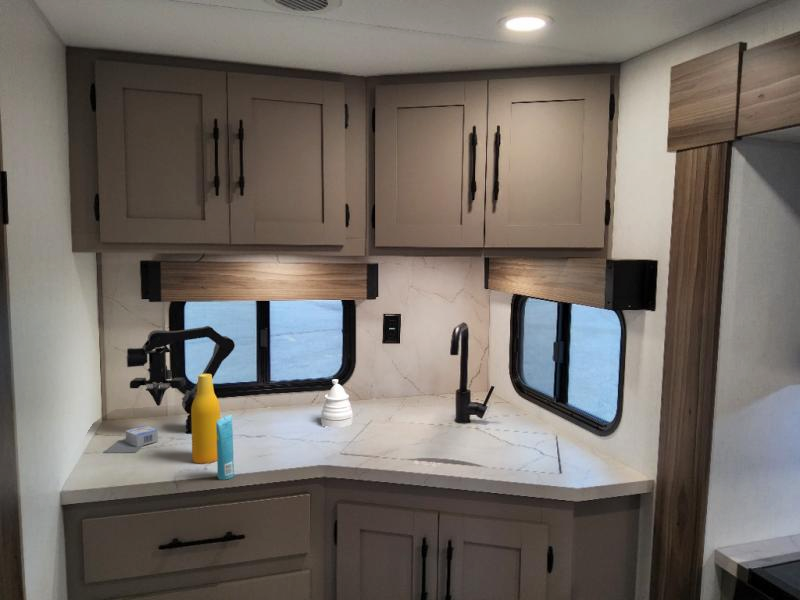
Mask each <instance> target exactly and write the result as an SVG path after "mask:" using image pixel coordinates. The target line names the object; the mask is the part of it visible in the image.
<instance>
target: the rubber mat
mask: <svg viewBox="0 0 800 600" xmlns="http://www.w3.org/2000/svg"><path fill="white" fill-rule="evenodd" d="M141 447H142V446H139V447H136V446H134V445H131V444H129V443H127V442H126V439H122V440H121V439H118V440H116V442H115V443H112V445H110V446H109V447H108V448H107V449H105V450H104V451H103V452H102V453H103V454H136V453H137V452H139V450H141V449H140V448H141ZM142 448H143V447H142Z"/></svg>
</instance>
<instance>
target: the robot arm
mask: <svg viewBox="0 0 800 600" xmlns="http://www.w3.org/2000/svg"><path fill="white" fill-rule="evenodd" d="M203 338H208V339H209V340H211V341H212V342H214V343H215V344H214V348H213V352H212V356H211V357H210V359H209V361H208V363H207V364H206V367H205V368H204V370H203V372H202V373H201V374H211V375H212V380H213V379H214V377H215V375H216V373H217V372H218V369H219V368H220V366H221V364H222V363H223V361H225V360H226V358H228V357H229V356H230V354H231V353H232V352H233V351H234V349H235V347H236V345H235V342H234V340H233V339H231V338H230V337H228V336H225V335H224V336H223V335H222V334H220V333H218V332H217V331H216V330H215V329H214V328H213V327H211V326H209V325H206V326H203V327H201V326H200V327H196V328H188V329H181V330H180V329H179V330H151V331H150V332H149V334H148V335H147V340H146V341H145V343H144V344H143V346H142V347H137V348H136V347H135V348H134V347H130V348H129V347H128V348H127V349H126V357H125V358H126V367H127V368H135V367H143V366H145V365H146V364H147V363H148V367H149V368H148V369H147V371H148V374H149V379H148V380H147V378H146V377H135V378H134V379H131V380H130V382H129V389H139V388H140V387H141V386H146V388H145V391H148V393H149V395H150V396H151V397H152V399H153V400H154V401H153V402H155V404H156V406H157V407H158V406H161V404H162V401H163V398H164V395H165V393H166V391H167V390H169V388H171V389H182V388H183V387H185V386H186V385H187V381H186V378H185V377H174V378H172V372H173V371H172V370H170V369H168V365H167V364H166V363H167V362H166V361H167V360H166V353H171V352H172V350H171V348H169V347H168V346H169V345H171V344H174V343H176V342H181V341H182V342H183V341H190V340H197V339H203ZM197 386H198V381H197V382H196V384H195V385H194V387H193V388H192V389H191V390H188V389H187V390H186V391H185V394H184V395H183V396H182V398H181V400H182V401H181V407H182V408H183V410H184V411H185V413H186V414H188V415H187V417H186V418H187V419H186V420H185V430H186V432H185V433H186V434H192V420H191V408H192V403H193V401H194V398H195V396H196V394H197Z"/></svg>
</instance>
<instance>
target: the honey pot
mask: <svg viewBox="0 0 800 600" xmlns="http://www.w3.org/2000/svg"><path fill="white" fill-rule="evenodd" d="M331 382H332V383H331V384H332V385H333V386H332V387H331V388H330V389H329V392H328V393H326V394H325V395H324V399H325V402H324V403H323V407H322V409H321V413H320V414H321V419H320V421H321V423H322V425H324V426H328V427H345V426H349V425H351V424H352V423H353V424H354V416H353V415H354V414H353V413H354V410H353V408H352V405H351V402H350V400H349V397H350V395H349V394H348V393H346V390H345V389H344V387H343V386H342V385H341V384H339V379H336V378H335V379H331ZM321 423H320V424H321ZM322 425H321V426H322Z"/></svg>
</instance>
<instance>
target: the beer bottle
mask: <svg viewBox="0 0 800 600" xmlns="http://www.w3.org/2000/svg"><path fill="white" fill-rule="evenodd" d="M213 381H214V380H213V379H212V375H211V374H202V373H201V374H198V377H197V382H198V386H197V394H196V396H195V398H194V401H193V403H192V408H191V420H192V433H191V458H192V462H194V463H196V464H199V463H200V464H201V465H202V464H203V465H205V463H207V464H211V462H212V463H215V462H217V423H216V422H217V420H219V419H221V406H220V401H219V399H218V397H217V395H216V394H215V390H214V383H213Z"/></svg>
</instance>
